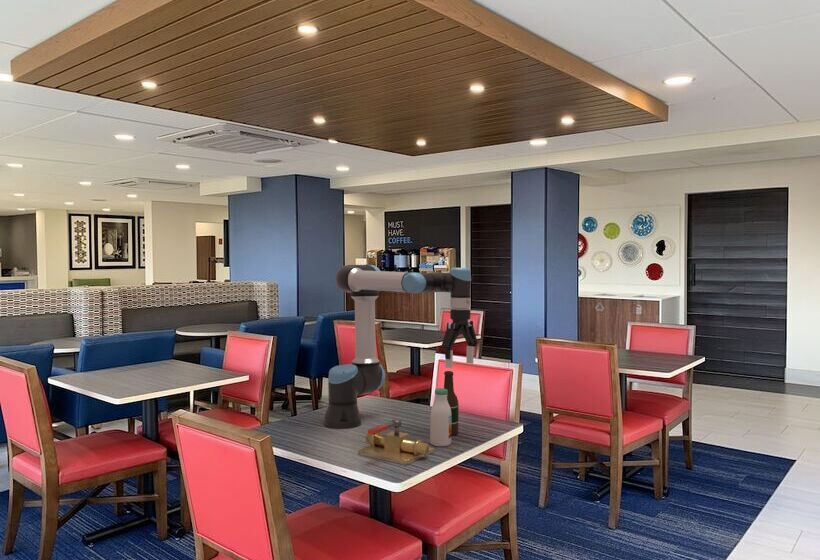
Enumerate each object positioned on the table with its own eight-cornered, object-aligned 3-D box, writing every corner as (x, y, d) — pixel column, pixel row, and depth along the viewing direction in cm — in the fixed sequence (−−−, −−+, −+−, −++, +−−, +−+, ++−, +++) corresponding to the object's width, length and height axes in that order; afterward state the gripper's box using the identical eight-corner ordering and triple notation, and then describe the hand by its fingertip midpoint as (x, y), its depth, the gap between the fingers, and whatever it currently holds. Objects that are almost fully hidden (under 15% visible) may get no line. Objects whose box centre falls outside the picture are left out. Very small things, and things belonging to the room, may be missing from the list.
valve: (353, 453, 216) (353, 425, 216) (383, 441, 231) (384, 415, 231) (411, 466, 203) (411, 437, 202) (439, 452, 218) (440, 425, 217)
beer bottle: (456, 436, 238) (457, 373, 237) (436, 435, 239) (437, 372, 239) (459, 431, 245) (460, 370, 245) (439, 429, 247) (440, 369, 246)
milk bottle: (444, 448, 223) (445, 392, 222) (426, 444, 227) (426, 389, 226) (455, 443, 229) (455, 388, 229) (436, 439, 233) (437, 386, 233)
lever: (395, 423, 219) (395, 418, 219) (403, 424, 217) (403, 420, 217) (366, 433, 205) (366, 429, 205) (374, 435, 203) (374, 430, 203)
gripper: (448, 311, 222) (448, 370, 223) (487, 307, 241) (486, 362, 242) (432, 310, 227) (431, 368, 227) (470, 306, 246) (470, 360, 247)
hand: (459, 365), depth 235 cm, fingers open, 13 cm apart
